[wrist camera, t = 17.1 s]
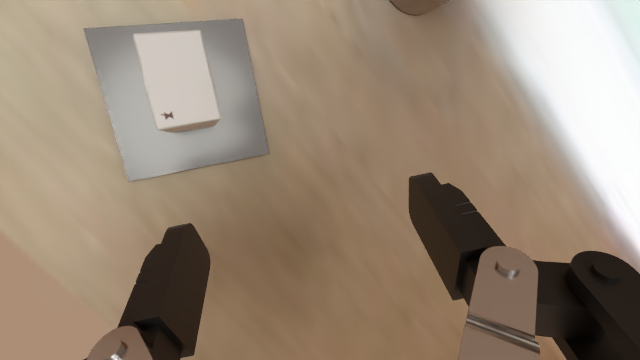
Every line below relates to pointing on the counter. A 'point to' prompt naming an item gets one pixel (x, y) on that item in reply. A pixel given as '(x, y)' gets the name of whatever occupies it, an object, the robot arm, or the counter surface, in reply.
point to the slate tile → (135, 111)
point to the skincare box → (177, 80)
